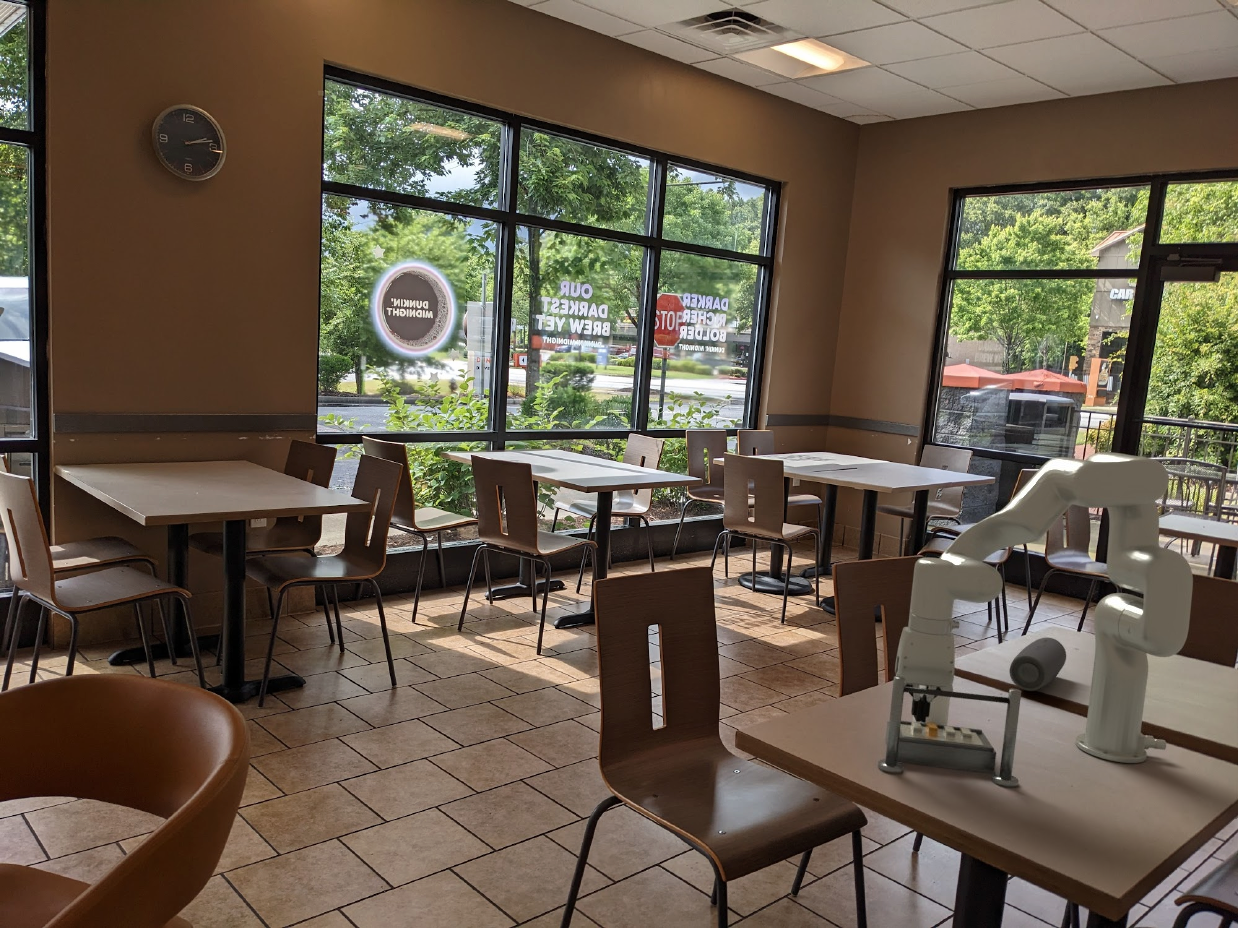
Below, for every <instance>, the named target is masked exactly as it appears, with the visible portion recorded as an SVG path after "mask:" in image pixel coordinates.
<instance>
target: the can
mask: <svg viewBox="0 0 1238 928" xmlns="http://www.w3.org/2000/svg"><path fill="white" fill-rule="evenodd" d="M920 688H923V689H925V688H926V686H924V685H920ZM923 695H924V694H920V696H921V698H922V697H923ZM950 701H951V697H944V696H937V697H936V698H934V699H933V701H932V702H931V703H930V712H929V717H926V722H930V723H935V724H936V725H944V726H948V722H949V713H950V712H949V711H950V703H951V702H950ZM912 716H913V717H912V722H916V720H915V718H914V715H912ZM926 722H925V723H926ZM918 723H924V722H922V721H920V722H918Z"/></svg>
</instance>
